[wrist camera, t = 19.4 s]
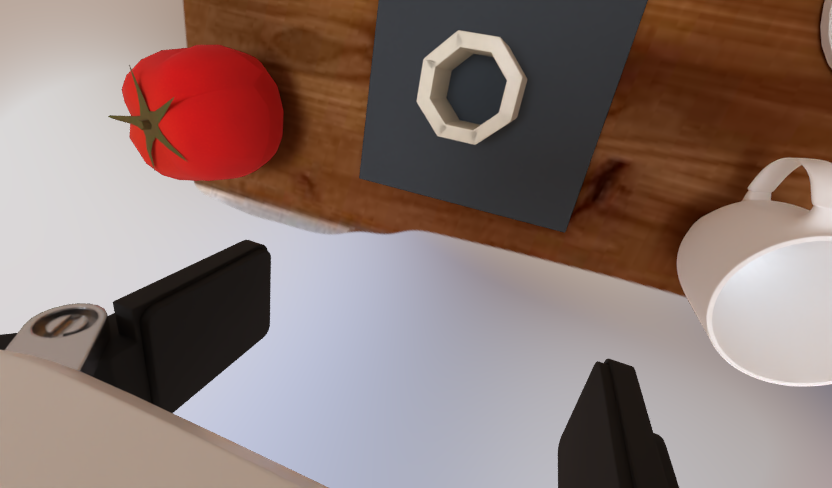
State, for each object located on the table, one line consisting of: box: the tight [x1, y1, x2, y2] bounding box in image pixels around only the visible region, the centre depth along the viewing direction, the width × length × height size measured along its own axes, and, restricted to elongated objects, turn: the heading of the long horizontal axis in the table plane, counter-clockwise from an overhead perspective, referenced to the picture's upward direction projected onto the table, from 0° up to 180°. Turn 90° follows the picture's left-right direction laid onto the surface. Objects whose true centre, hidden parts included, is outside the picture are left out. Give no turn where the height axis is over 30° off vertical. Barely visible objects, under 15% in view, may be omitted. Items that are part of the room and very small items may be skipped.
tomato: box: [109, 45, 284, 181], centre depth 34 cm, size 12×12×13 cm
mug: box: [677, 158, 832, 386], centre depth 25 cm, size 12×9×12 cm
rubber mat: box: [359, 0, 648, 232], centre depth 32 cm, size 20×20×1 cm
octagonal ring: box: [417, 30, 527, 145], centre depth 30 cm, size 7×7×5 cm
